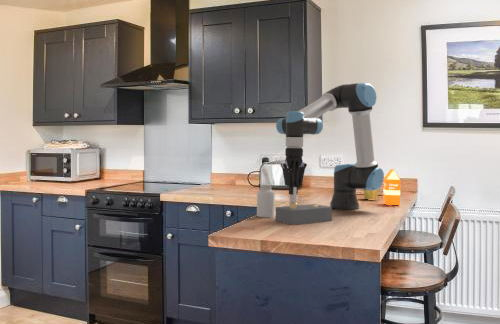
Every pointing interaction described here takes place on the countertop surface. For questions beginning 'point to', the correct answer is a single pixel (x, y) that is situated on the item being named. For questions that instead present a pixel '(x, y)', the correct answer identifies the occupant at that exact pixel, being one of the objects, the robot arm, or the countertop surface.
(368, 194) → the plant pot
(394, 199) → the orange juice
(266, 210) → the pill bottle
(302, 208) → the block
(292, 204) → the pin
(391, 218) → the countertop surface
